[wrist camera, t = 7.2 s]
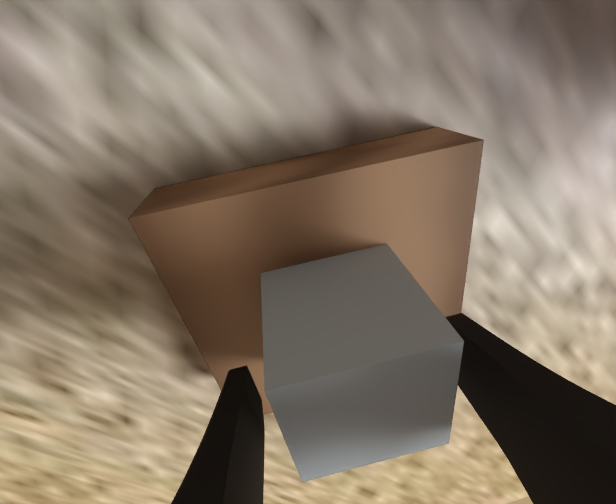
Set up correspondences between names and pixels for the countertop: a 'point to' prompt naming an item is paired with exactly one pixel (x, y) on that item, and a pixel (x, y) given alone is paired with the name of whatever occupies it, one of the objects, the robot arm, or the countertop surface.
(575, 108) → the countertop surface
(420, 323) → the slate cube
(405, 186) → the walnut base
